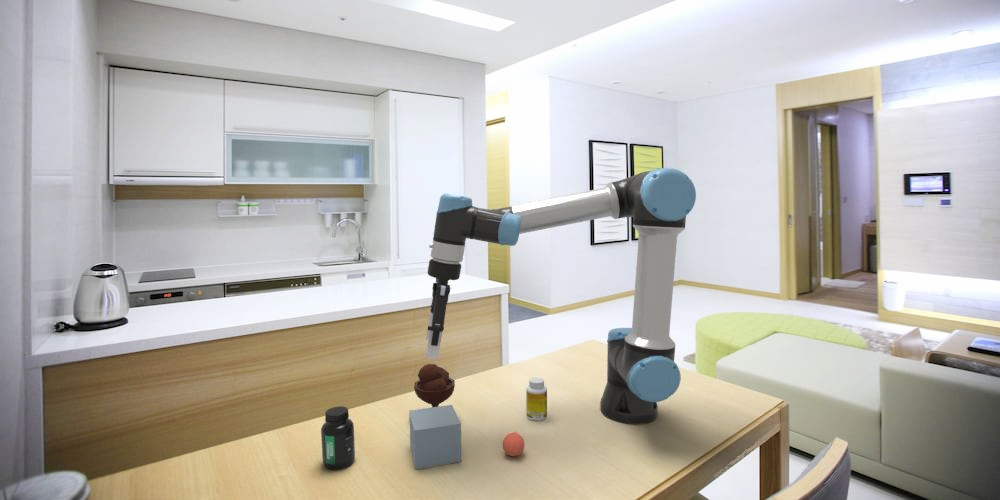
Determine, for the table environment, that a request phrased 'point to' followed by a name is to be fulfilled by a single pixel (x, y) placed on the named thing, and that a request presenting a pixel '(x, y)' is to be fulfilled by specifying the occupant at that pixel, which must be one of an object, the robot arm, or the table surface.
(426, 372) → the ice cream bowl
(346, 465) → the supplement bottle
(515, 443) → the ball
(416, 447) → the block
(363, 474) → the table surface
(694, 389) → the table surface
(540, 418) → the supplement bottle
